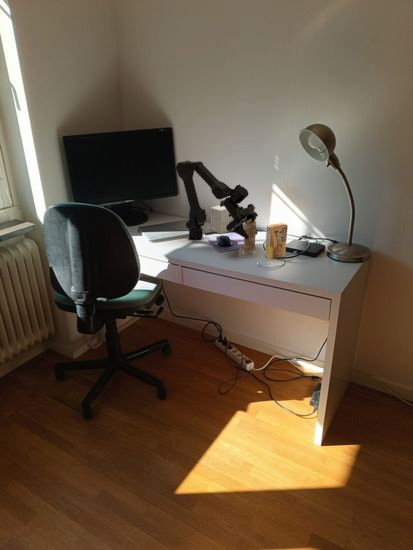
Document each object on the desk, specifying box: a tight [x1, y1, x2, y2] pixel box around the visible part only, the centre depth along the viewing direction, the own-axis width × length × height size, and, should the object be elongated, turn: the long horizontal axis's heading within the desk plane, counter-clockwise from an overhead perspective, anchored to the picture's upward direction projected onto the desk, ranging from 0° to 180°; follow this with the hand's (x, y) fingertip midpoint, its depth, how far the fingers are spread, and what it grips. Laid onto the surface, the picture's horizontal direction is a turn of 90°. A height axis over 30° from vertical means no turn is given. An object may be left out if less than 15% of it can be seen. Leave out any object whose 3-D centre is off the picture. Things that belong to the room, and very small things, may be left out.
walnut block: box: [243, 221, 257, 251], centre depth 194 cm, size 5×5×12 cm
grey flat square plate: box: [237, 248, 261, 258], centre depth 198 cm, size 10×10×1 cm
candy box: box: [264, 222, 289, 260], centre depth 191 cm, size 9×4×15 cm, turn 116°
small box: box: [210, 204, 230, 234], centre depth 224 cm, size 8×6×13 cm
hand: (252, 236), depth 193 cm, fingers closed on walnut block, 7 cm apart
